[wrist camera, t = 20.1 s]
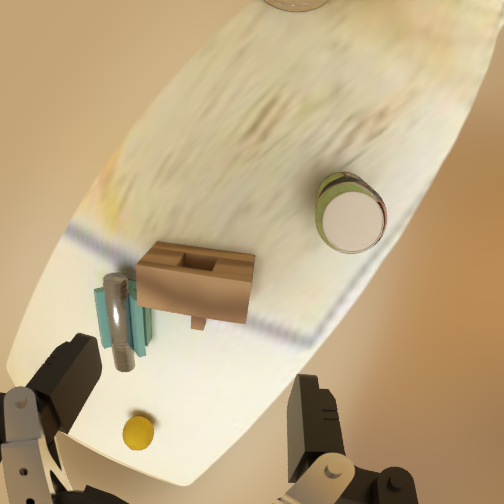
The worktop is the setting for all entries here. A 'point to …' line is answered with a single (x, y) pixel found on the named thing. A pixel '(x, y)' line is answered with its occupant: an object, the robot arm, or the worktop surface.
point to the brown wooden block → (195, 282)
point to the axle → (119, 320)
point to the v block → (138, 319)
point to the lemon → (138, 433)
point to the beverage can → (349, 213)
